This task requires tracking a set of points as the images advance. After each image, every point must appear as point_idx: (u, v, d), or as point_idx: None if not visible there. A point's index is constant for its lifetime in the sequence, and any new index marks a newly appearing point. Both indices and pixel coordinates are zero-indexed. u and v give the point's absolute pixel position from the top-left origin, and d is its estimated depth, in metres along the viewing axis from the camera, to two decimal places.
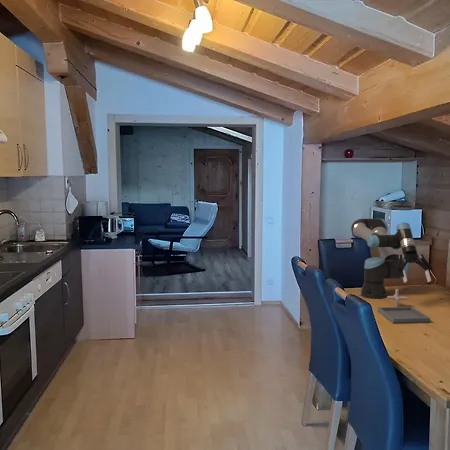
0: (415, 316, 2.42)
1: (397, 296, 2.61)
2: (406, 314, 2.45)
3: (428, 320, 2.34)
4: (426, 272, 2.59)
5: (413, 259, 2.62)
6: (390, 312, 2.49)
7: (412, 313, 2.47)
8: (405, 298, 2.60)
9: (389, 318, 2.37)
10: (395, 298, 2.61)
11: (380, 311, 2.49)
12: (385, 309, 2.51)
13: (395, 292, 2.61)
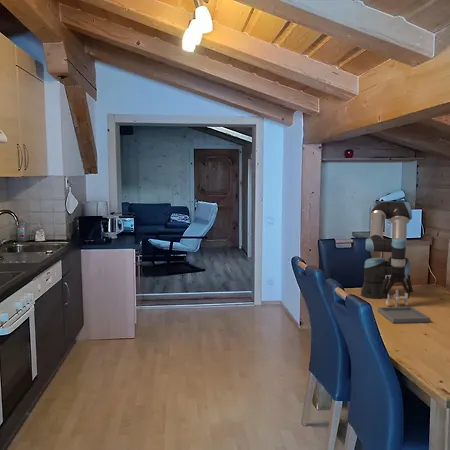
0: (415, 316, 2.42)
1: (397, 296, 2.61)
2: (406, 314, 2.45)
3: (428, 320, 2.34)
4: (405, 294, 2.62)
5: (399, 280, 2.60)
6: (390, 312, 2.49)
7: (412, 313, 2.47)
8: (405, 298, 2.60)
9: (389, 318, 2.37)
10: (395, 298, 2.61)
11: (380, 311, 2.49)
12: (385, 309, 2.51)
13: (395, 292, 2.61)
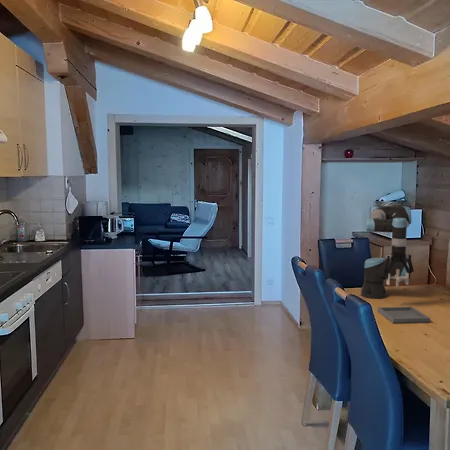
0: (415, 316, 2.42)
1: (398, 276, 2.60)
2: (406, 314, 2.45)
3: (428, 320, 2.34)
4: (406, 274, 2.61)
5: (399, 260, 2.58)
6: (390, 312, 2.49)
7: (412, 313, 2.47)
8: (406, 278, 2.59)
9: (389, 318, 2.37)
10: (396, 278, 2.60)
11: (380, 311, 2.49)
12: (385, 309, 2.51)
13: (396, 272, 2.60)
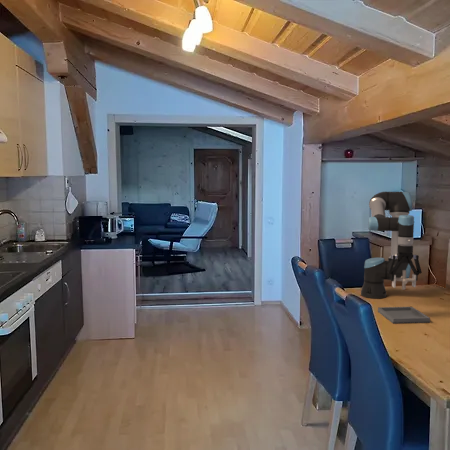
0: (415, 316, 2.42)
1: (404, 278, 2.40)
2: (406, 314, 2.45)
3: (428, 320, 2.34)
4: (413, 276, 2.41)
5: (406, 260, 2.39)
6: (390, 312, 2.49)
7: (412, 313, 2.47)
8: (413, 280, 2.40)
9: (389, 318, 2.37)
10: (402, 280, 2.40)
11: (380, 311, 2.49)
12: (385, 309, 2.51)
13: (402, 273, 2.41)
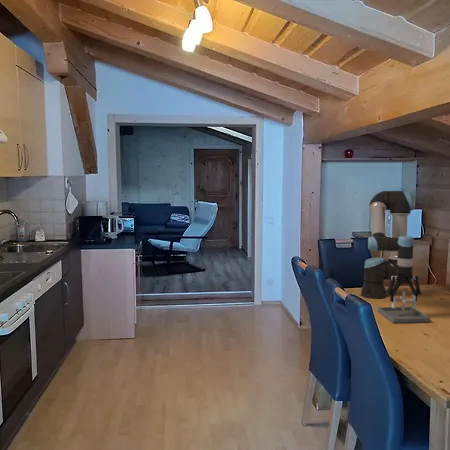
0: (415, 316, 2.42)
1: (404, 298, 2.41)
2: (406, 314, 2.45)
3: (428, 320, 2.34)
4: (413, 297, 2.42)
5: (406, 281, 2.40)
6: (390, 312, 2.49)
7: (412, 313, 2.47)
8: (412, 301, 2.40)
9: (389, 318, 2.37)
10: (402, 301, 2.41)
11: (380, 311, 2.49)
12: (385, 309, 2.51)
13: (402, 294, 2.42)
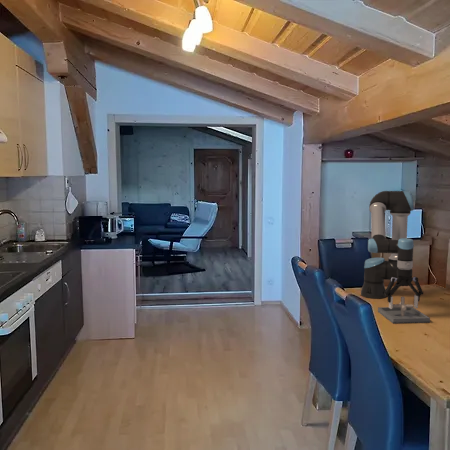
0: (415, 316, 2.42)
1: (403, 304, 2.42)
2: (406, 314, 2.45)
3: (428, 320, 2.34)
4: (415, 297, 2.42)
5: (405, 283, 2.40)
6: (390, 312, 2.49)
7: (412, 313, 2.47)
8: (412, 306, 2.41)
9: (389, 318, 2.37)
10: (401, 306, 2.42)
11: (380, 311, 2.49)
12: (385, 309, 2.51)
13: (401, 300, 2.42)
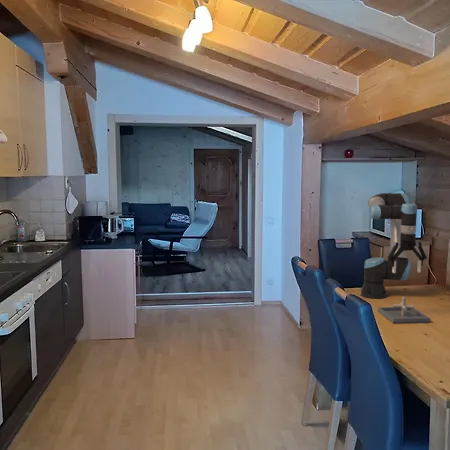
0: (415, 316, 2.42)
1: (404, 304, 2.42)
2: (406, 314, 2.45)
3: (428, 320, 2.34)
4: (418, 262, 2.46)
5: (409, 248, 2.43)
6: (390, 312, 2.49)
7: (412, 313, 2.47)
8: (412, 307, 2.41)
9: (389, 318, 2.37)
10: (401, 306, 2.42)
11: (380, 311, 2.49)
12: (385, 309, 2.51)
13: (402, 300, 2.42)
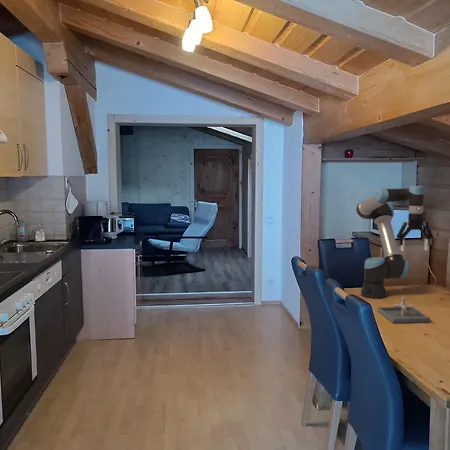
0: (415, 316, 2.42)
1: (403, 304, 2.42)
2: (406, 314, 2.45)
3: (428, 320, 2.34)
4: (425, 240, 2.61)
5: (416, 227, 2.59)
6: (390, 312, 2.49)
7: (412, 313, 2.47)
8: (412, 307, 2.41)
9: (389, 318, 2.37)
10: (401, 306, 2.42)
11: (380, 311, 2.49)
12: (385, 309, 2.51)
13: None
